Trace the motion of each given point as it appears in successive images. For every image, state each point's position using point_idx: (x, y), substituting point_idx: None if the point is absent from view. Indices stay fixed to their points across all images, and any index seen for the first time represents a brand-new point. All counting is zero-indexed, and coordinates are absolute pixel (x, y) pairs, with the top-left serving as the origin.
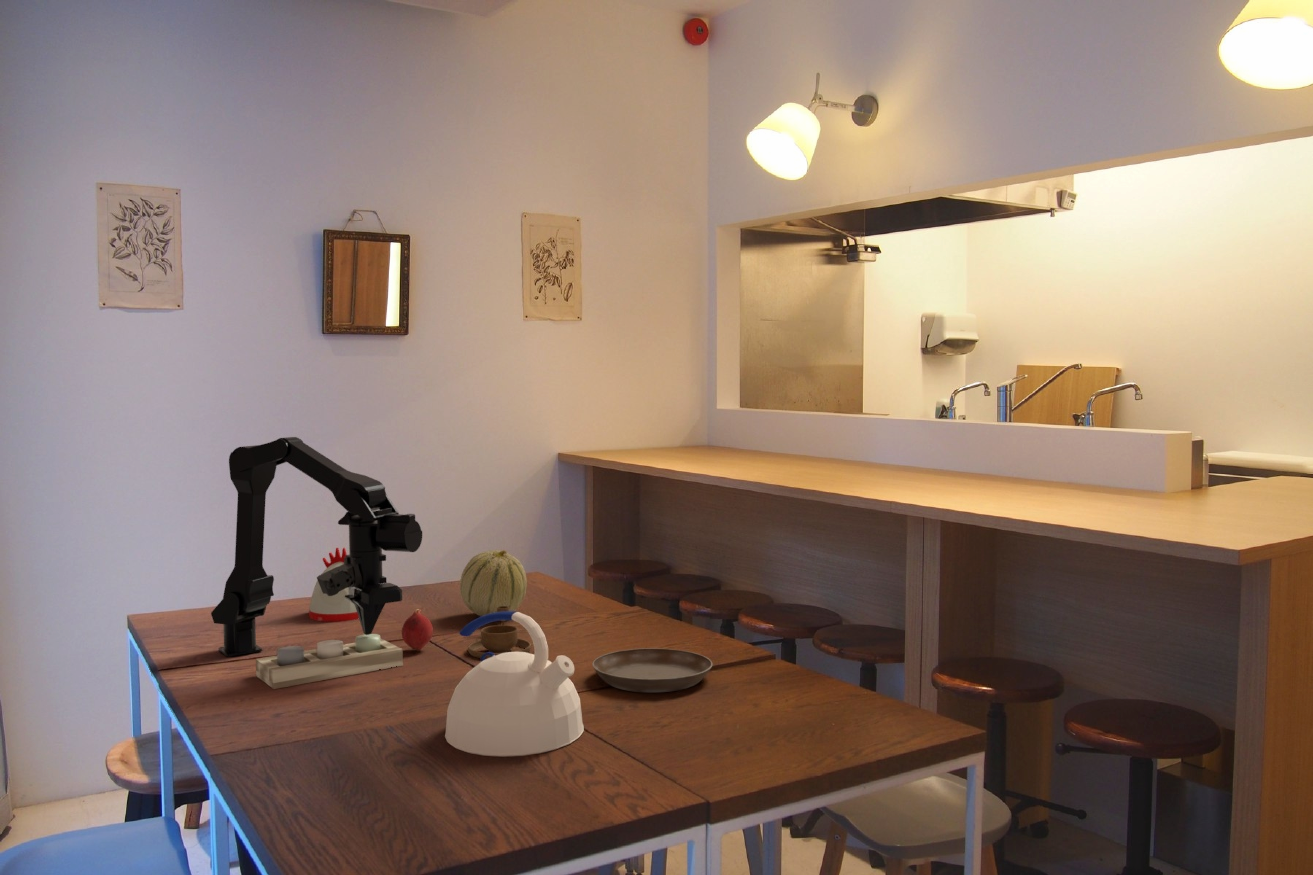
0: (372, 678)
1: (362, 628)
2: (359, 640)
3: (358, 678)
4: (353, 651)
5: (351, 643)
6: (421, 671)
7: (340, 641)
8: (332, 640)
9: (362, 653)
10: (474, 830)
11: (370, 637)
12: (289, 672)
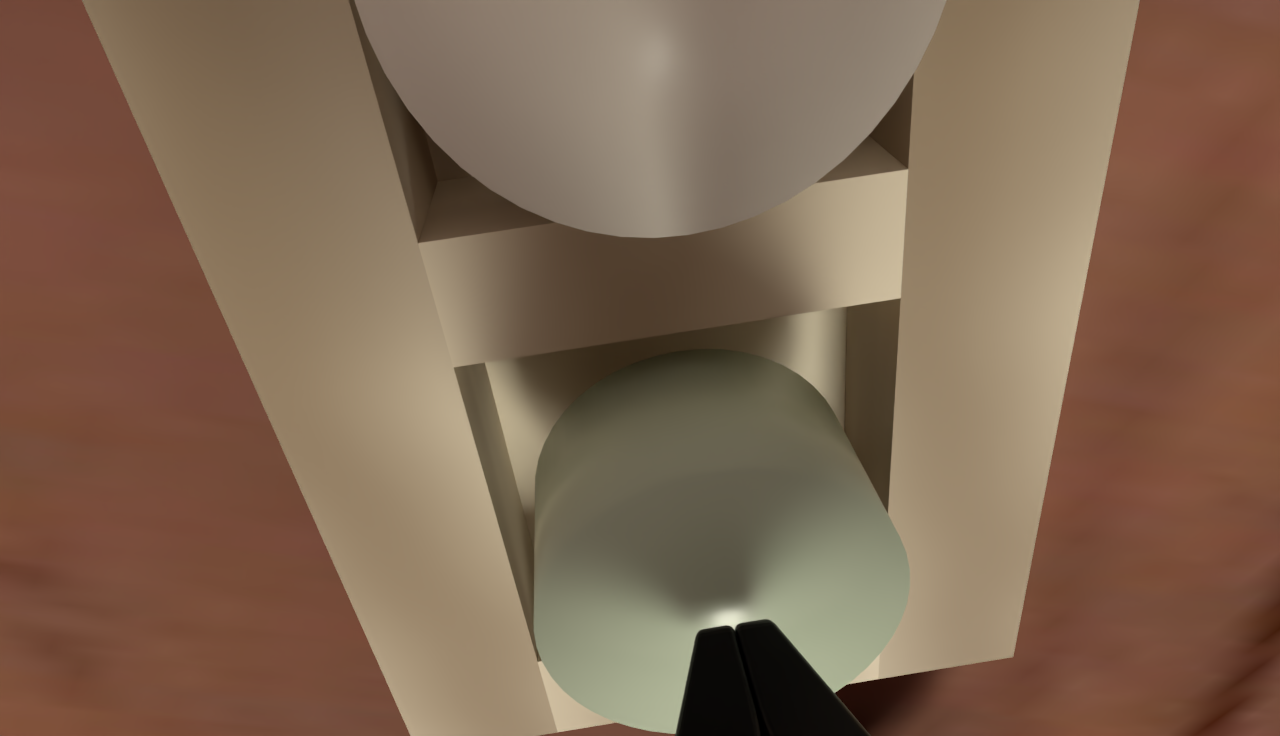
0: (15, 312)
1: (801, 681)
2: (616, 493)
3: (54, 170)
4: (599, 315)
5: (1059, 370)
6: (172, 692)
7: (662, 198)
8: (862, 61)
9: (408, 399)
10: None
11: (662, 637)
12: None
